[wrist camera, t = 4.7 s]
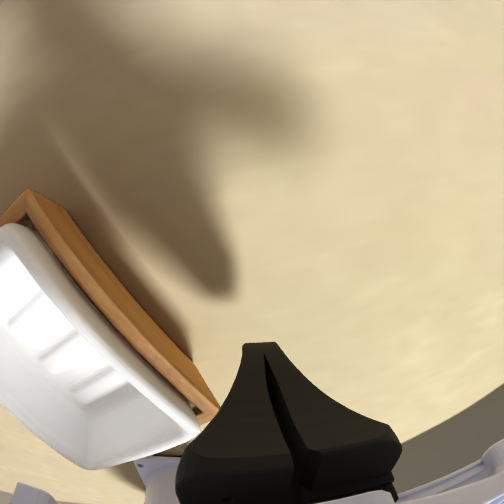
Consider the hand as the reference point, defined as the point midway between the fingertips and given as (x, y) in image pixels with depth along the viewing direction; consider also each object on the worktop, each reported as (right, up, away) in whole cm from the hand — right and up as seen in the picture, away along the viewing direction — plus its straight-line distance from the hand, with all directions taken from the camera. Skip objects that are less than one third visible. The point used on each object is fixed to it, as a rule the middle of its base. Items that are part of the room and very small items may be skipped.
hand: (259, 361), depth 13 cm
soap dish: (-9, +1, +2) cm, 10 cm away
